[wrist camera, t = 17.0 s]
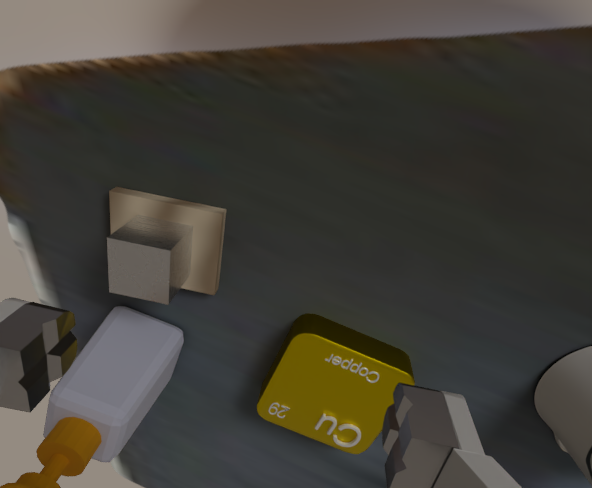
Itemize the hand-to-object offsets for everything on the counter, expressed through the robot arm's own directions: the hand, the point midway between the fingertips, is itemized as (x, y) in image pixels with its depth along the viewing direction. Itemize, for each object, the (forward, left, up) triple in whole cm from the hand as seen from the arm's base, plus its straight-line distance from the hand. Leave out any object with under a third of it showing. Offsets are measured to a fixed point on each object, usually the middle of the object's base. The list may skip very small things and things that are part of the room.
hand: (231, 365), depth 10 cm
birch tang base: (+14, +14, -31) cm, 37 cm away
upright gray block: (+14, +14, -30) cm, 36 cm away
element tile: (-8, +28, -32) cm, 43 cm away
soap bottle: (+17, +31, -31) cm, 47 cm away
